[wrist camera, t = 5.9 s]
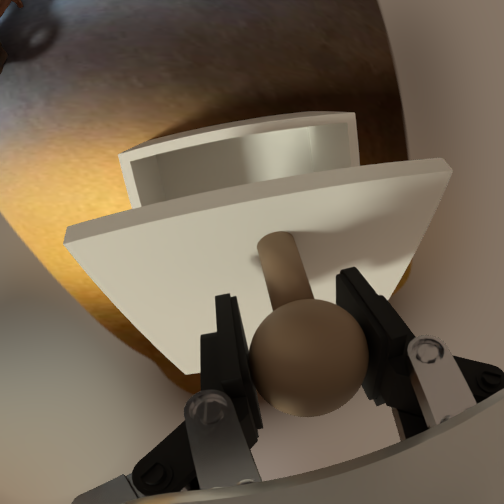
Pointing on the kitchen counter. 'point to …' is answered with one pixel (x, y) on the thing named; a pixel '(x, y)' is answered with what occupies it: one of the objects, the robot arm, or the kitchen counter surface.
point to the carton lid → (267, 269)
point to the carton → (239, 154)
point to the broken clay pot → (0, 3)
